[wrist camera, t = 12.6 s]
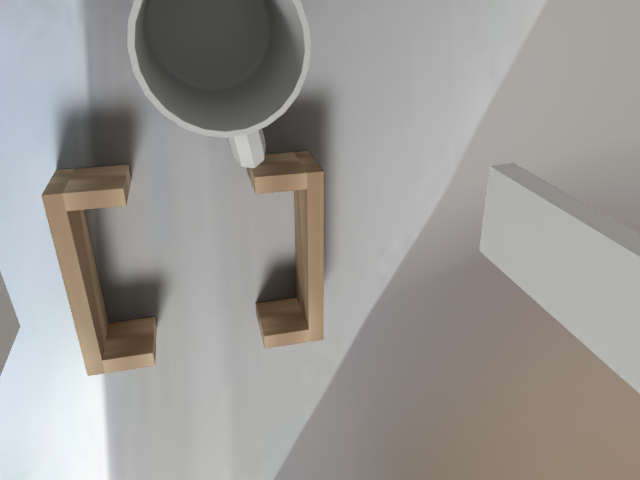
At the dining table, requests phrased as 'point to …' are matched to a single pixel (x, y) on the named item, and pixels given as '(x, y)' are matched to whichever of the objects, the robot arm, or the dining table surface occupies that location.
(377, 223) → the dining table surface
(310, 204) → the wooden brackets
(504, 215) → the robot arm
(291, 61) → the cup
